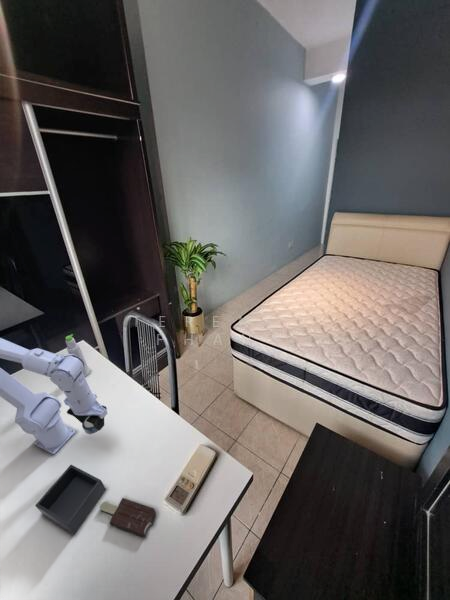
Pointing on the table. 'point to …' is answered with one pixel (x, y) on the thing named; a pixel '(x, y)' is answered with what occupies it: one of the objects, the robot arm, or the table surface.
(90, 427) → the rice dish
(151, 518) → the ice cream bar
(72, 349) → the bottle
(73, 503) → the tub
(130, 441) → the table surface
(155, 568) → the table surface
